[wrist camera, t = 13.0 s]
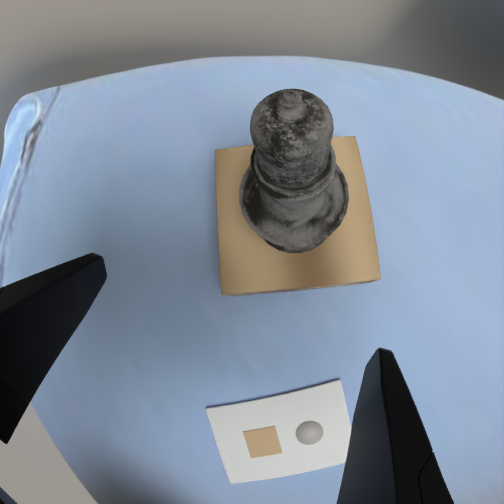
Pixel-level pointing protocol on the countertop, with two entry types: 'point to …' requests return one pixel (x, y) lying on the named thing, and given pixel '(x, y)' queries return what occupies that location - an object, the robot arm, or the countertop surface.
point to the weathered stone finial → (293, 173)
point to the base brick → (293, 264)
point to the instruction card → (282, 433)
